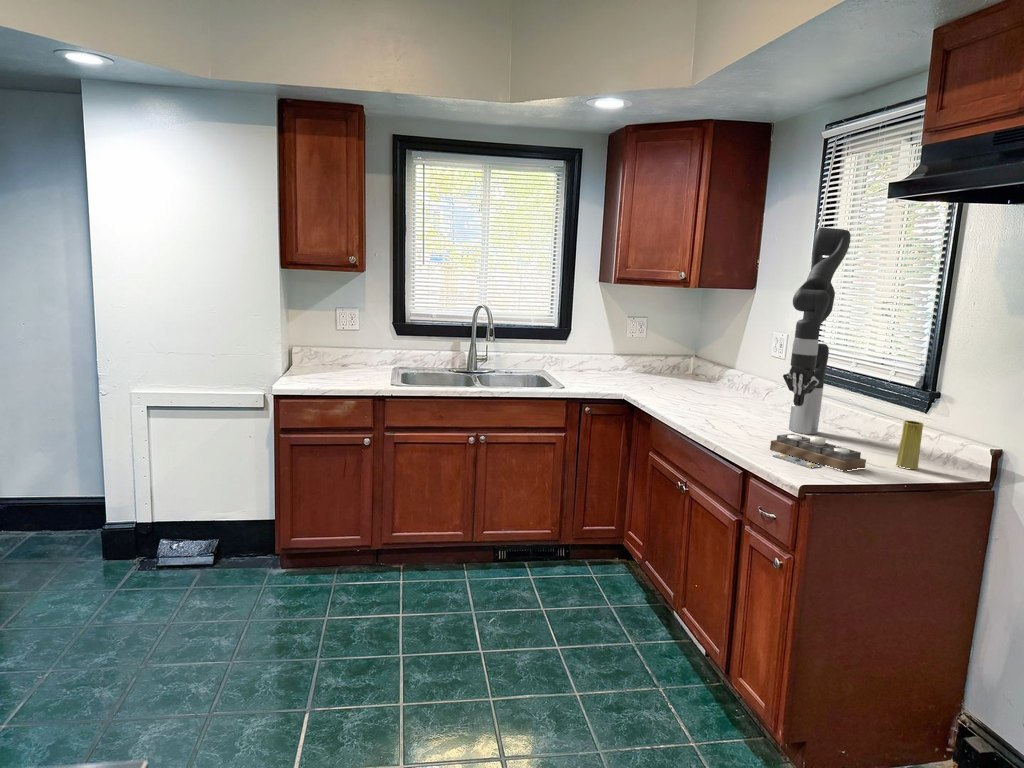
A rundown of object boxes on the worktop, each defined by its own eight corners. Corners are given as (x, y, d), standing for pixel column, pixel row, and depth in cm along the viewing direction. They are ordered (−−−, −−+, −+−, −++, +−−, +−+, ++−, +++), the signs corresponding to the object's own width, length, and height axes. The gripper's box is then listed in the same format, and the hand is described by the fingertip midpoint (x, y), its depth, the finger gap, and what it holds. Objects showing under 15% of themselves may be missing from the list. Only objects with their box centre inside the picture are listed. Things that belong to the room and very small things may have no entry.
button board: (769, 449, 227) (771, 434, 227) (790, 447, 232) (791, 432, 232) (844, 472, 204) (846, 456, 204) (864, 469, 209) (867, 453, 209)
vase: (910, 464, 218) (917, 420, 215) (922, 470, 211) (929, 425, 209) (891, 464, 217) (898, 419, 215) (903, 469, 211) (910, 424, 209)
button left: (783, 441, 226) (784, 435, 226) (792, 440, 228) (793, 434, 228) (795, 444, 222) (795, 438, 222) (804, 443, 224) (804, 437, 224)
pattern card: (772, 456, 219) (772, 454, 219) (783, 455, 221) (783, 453, 221) (810, 468, 207) (811, 466, 207) (821, 466, 209) (821, 465, 209)
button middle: (806, 443, 218) (807, 436, 218) (815, 441, 221) (816, 435, 220) (818, 446, 215) (819, 440, 214) (827, 445, 217) (828, 439, 217)
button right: (829, 454, 211) (830, 448, 211) (839, 453, 214) (839, 447, 213) (842, 458, 208) (843, 452, 207) (852, 457, 210) (852, 450, 210)
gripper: (830, 355, 216) (823, 409, 219) (795, 349, 228) (788, 400, 231) (814, 355, 213) (807, 410, 216) (779, 349, 224) (773, 402, 227)
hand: (797, 405), depth 223 cm, fingers closed
